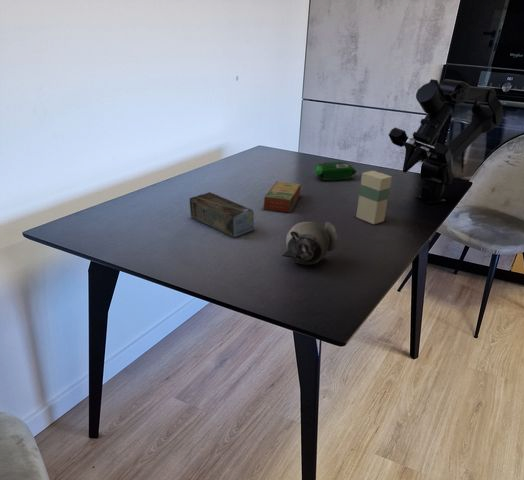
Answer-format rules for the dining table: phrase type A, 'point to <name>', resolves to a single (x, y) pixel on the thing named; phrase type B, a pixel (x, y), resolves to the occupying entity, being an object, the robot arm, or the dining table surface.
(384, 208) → the tea box
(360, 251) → the dining table surface
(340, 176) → the snack package
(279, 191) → the carton
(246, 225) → the beverage carton
